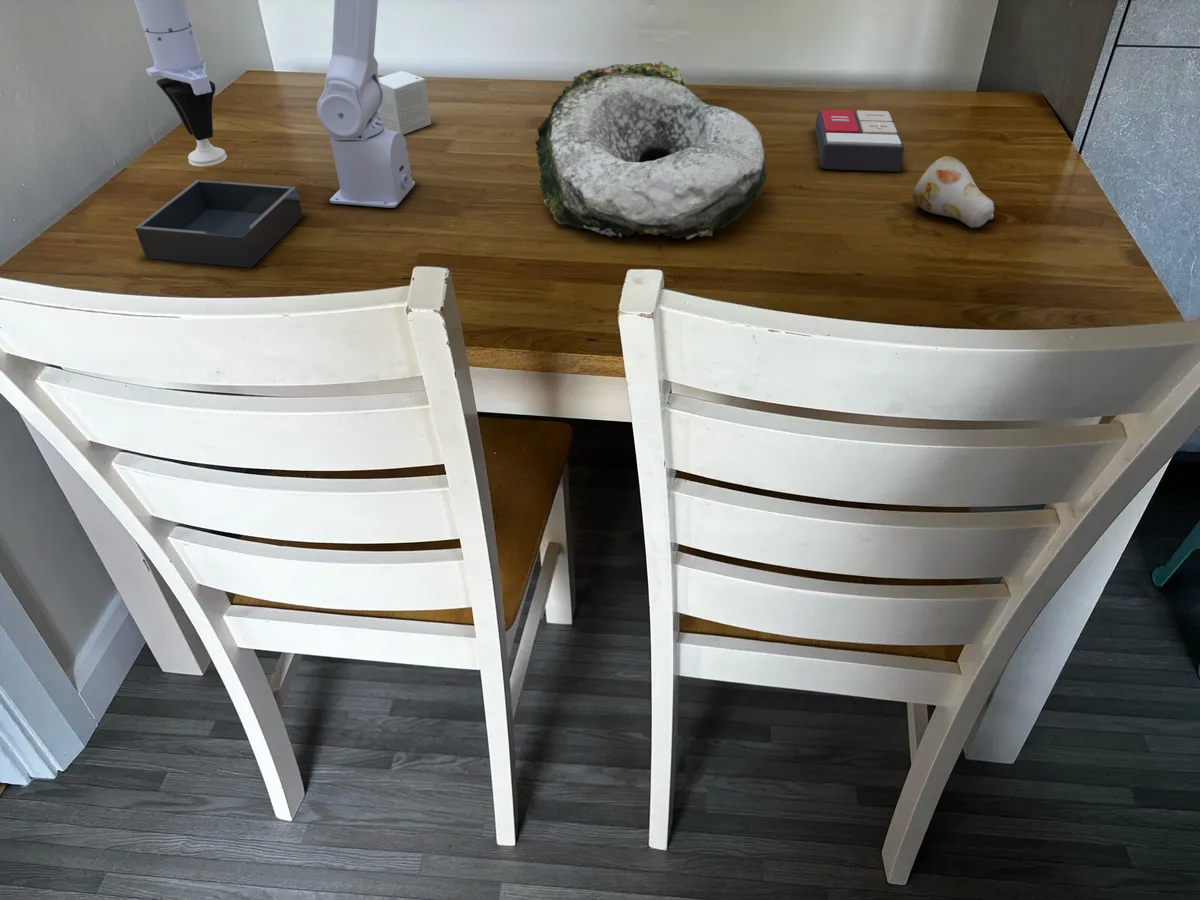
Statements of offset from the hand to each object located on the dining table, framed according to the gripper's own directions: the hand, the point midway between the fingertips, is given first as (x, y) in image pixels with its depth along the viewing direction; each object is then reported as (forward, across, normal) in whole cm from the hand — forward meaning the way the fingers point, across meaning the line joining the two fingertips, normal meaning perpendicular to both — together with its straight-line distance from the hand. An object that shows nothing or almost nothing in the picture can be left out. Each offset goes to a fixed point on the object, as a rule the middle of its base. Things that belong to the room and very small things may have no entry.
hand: (201, 135), depth 121 cm
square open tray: (+8, +14, -4) cm, 16 cm away
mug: (+8, +70, +70) cm, 100 cm away
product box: (+8, -5, +32) cm, 34 cm away
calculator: (+8, +48, +78) cm, 92 cm away
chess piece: (+3, 0, 0) cm, 3 cm away
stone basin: (+8, +42, +44) cm, 61 cm away
